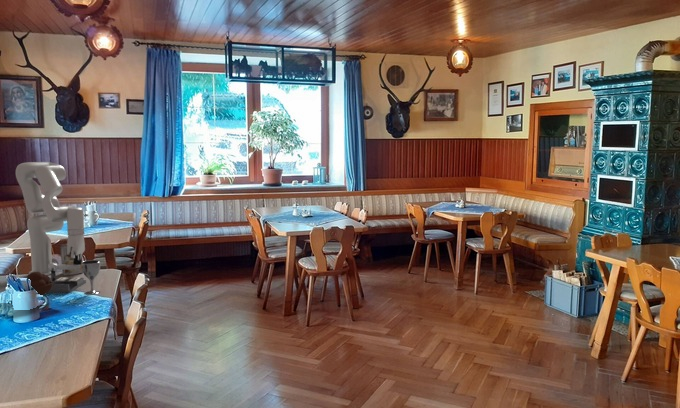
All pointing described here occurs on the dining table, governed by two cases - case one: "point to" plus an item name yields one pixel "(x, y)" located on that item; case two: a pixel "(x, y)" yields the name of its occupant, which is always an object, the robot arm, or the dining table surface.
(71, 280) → the label
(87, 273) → the wine glass
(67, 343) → the dining table surface
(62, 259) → the coffee box
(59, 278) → the label
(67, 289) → the psu chassis
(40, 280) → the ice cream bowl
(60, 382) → the dining table surface
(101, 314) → the dining table surface
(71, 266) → the swing arm
